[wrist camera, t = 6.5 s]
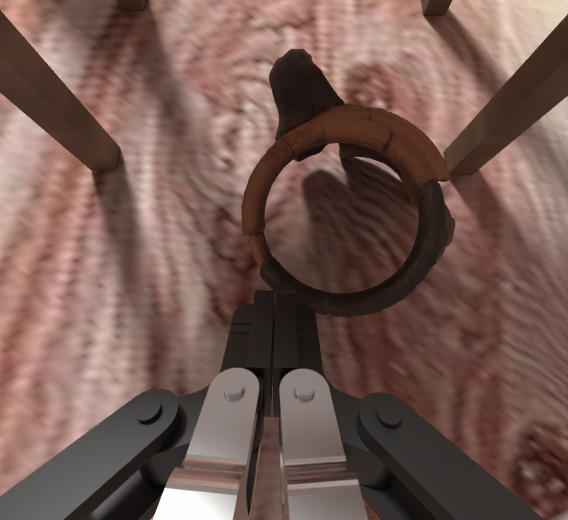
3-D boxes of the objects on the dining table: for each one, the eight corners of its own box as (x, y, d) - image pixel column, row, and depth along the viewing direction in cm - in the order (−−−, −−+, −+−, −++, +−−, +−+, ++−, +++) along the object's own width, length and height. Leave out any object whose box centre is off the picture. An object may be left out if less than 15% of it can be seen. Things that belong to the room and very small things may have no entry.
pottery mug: (457, 239, 17) (539, 276, 9) (315, 304, 20) (282, 372, 12) (359, 50, 16) (353, -90, 8) (229, 148, 19) (135, 113, 11)
